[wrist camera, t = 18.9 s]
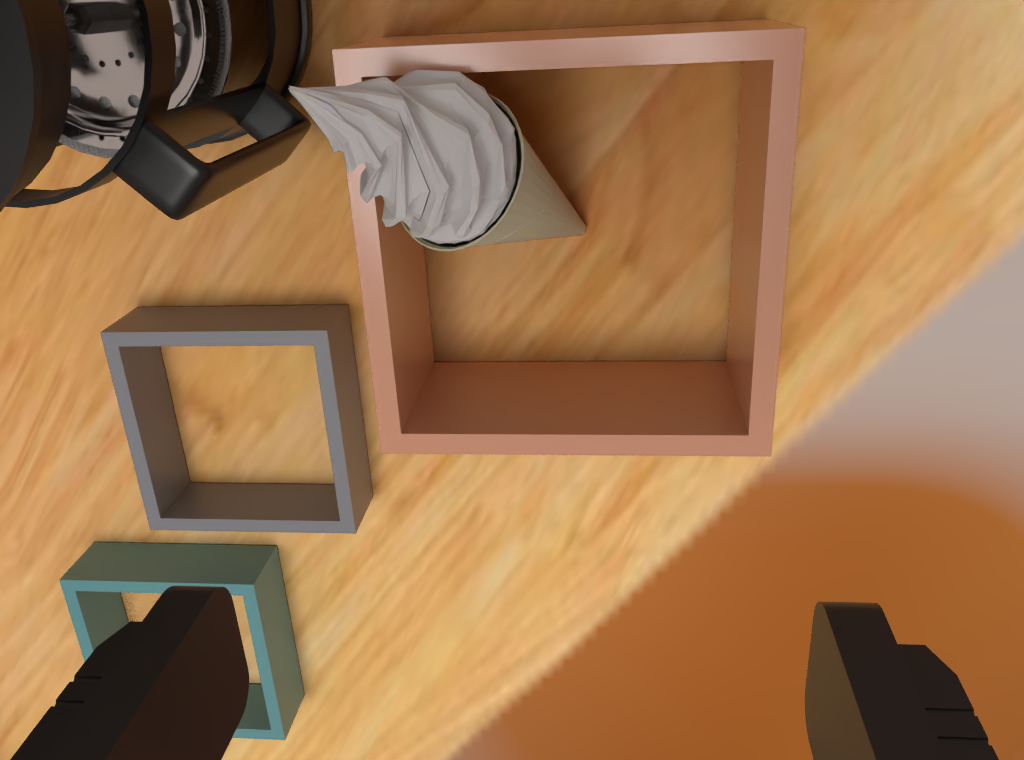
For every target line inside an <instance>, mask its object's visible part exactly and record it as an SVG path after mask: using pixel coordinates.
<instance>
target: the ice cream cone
mask: <svg viewBox="0 0 1024 760" xmlns="http://www.w3.org/2000/svg"><path fill="white" fill-rule="evenodd" d="M289 87H290V88H288V89H289V91H290V93H291V94H292V95H293V96H294V97H295V98H296V99H297V100H298V101H299V102H300V104H301V105H302V106H303V107H304V109H305V110H306V111H307V112H308V114H309V115H310V116H311V118H312V119H313V120H314V121H315V123H316V124H317V125H318V127H319V128H320V129H321V130H322V132H323V133H324V134H325V136H326V137H327V138H328V140H329V143H330V145H331V148H332V150H333V152H334V153H335V152H337V151H342V152H343V154H344V158H345V162H346V166H347V170H348V171H349V173H351V172H353V171H354V170H355V168H356V167H357V166H358V165H359V164H361V163H365V166H366V168H365V169H364V171H363V172H362V173H361V177H360V196H361V197H362V199H363V200H364V201H365V203H366V204H367V203H368V202H369V201H370V200H371V199H372V198H373V197H376V196H379V195H381V196H383V199H384V209H383V215H382V221H383V223H384V225H385V227H392V226H394V225H395V224H397V223H398V222H400V221H401V222H402V224H403V226H404V228H405V230H406V231H407V232H408V233H409V234H410V235H411V237H412V238H413V239H415V240H416V241H417V242H418V243H420V244H421V245H423V246H425V247H428V248H430V249H433V250H438V251H456V250H460V249H464V248H467V247H469V246H472V245H487V244H497V243H507V242H518V241H528V240H538V239H548V238H559V237H569V236H580V235H583V234H584V233H585V231H586V225H585V224H584V222H583V221H582V220H581V218H580V217H579V215H578V214H577V212H576V211H575V209H574V208H573V206H572V205H571V204H570V202H569V201H568V199H567V198H566V196H565V195H564V193H563V192H562V190H561V189H560V188H559V186H558V185H557V183H556V182H555V180H554V179H553V178H552V177H551V175H550V174H549V172H548V171H547V170H546V168H545V167H544V165H543V164H542V162H541V161H540V159H539V158H538V156H537V155H536V154H535V152H534V151H533V149H532V148H531V146H530V145H529V143H528V142H527V140H526V139H525V138H524V136H523V135H522V133H521V129H520V127H519V125H518V122H517V120H516V118H515V117H514V115H513V114H512V112H511V111H510V109H509V108H508V107H507V106H506V105H505V104H504V103H503V102H502V101H501V100H500V99H498V98H496V97H494V96H493V95H491V94H488V93H487V92H486V90H485V88H484V87H482V86H480V85H479V84H477V83H474V82H473V81H472V80H470V79H469V78H467V77H466V76H464V75H463V74H462V73H460V72H459V71H434V70H415V71H410V72H408V73H407V74H405V75H404V76H402V77H401V78H399V79H398V80H396V81H395V82H392V81H391V80H389V79H388V78H387V77H378V78H374V79H370V80H366V81H363V82H358V83H355V84H351V85H347V86H328V87H307V88H298V87H293V86H289Z"/></svg>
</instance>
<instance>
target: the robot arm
mask: <svg viewBox="0 0 1024 760" xmlns="http://www.w3.org/2000/svg"><path fill="white" fill-rule="evenodd" d="M74 677H75V678H74V681H73V682H69V684H68V685H67V686H66V688H65V689H64V690H63V691H62V693H61V694H60V695H59V697H58V698H57V699H56V705H55V707H53V706H51V707H50V708H49V710H48V711H47V712H46V714H45V715H44V716H43V718H42V719H41V720H40V722H39V723H38V724H37V725H36V727H35V728H34V729H33V731H32V732H31V733H30V735H29V736H28V737H27V739H26V740H25V741H24V742H23V744H22V745H21V746H20V748H19V749H18V750H17V752H16V753H15V754H14V756H13V757H12V758H11V759H10V760H221V759H222V757H223V755H224V753H225V751H226V749H227V747H228V745H229V743H230V741H231V739H232V737H233V735H234V733H235V731H236V729H237V727H238V725H239V723H240V721H241V718H242V716H243V714H244V711H245V707H246V704H247V699H248V692H249V672H248V666H247V662H246V658H245V653H244V649H243V644H242V640H241V635H240V631H239V626H238V622H237V617H236V613H235V608H234V604H233V600H232V596H231V594H230V592H229V591H228V589H227V588H225V587H217V586H171V587H169V588H167V589H166V590H165V591H164V592H163V594H162V595H161V596H160V598H159V599H158V601H157V602H156V603H155V605H154V606H153V607H152V609H151V610H150V612H149V613H148V614H147V616H146V617H145V619H144V620H143V621H142V622H131V621H130V622H129V623H128V624H126V625H125V626H124V627H122V628H121V629H120V630H118V631H117V632H116V633H114V634H113V635H112V636H110V637H109V638H108V639H106V640H105V641H104V642H102V643H101V644H100V645H98V646H97V647H96V648H95V650H94V651H93V652H92V653H91V655H90V656H89V657H88V659H87V660H86V661H85V663H84V664H83V665H82V667H81V668H80V669H79V671H78V672H77V673H76V674H75V676H74ZM805 716H806V726H807V733H808V739H809V743H810V747H811V751H812V755H813V759H814V760H999V759H998V757H997V755H996V753H995V751H994V749H993V747H992V746H989V744H988V737H987V735H986V733H985V731H984V729H983V727H982V725H981V723H980V721H979V719H978V717H977V716H974V709H973V707H972V705H971V703H970V701H969V699H968V697H967V695H966V693H965V691H964V689H963V687H962V685H961V683H960V681H959V678H958V676H957V675H956V674H955V673H954V672H953V671H952V670H951V669H950V668H949V667H947V665H946V664H945V663H943V662H942V661H941V660H940V659H939V658H938V657H937V656H936V655H935V654H934V653H933V652H932V651H931V650H930V649H929V648H927V647H926V646H925V645H905V644H903V645H902V644H897V642H896V640H895V638H894V635H893V633H892V631H891V628H890V626H889V624H888V621H887V619H886V617H885V614H884V612H883V610H882V608H881V607H880V605H879V604H877V603H857V602H818V603H817V604H816V606H815V610H814V617H813V625H812V634H811V643H810V652H809V661H808V670H807V679H806V689H805Z"/></svg>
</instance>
